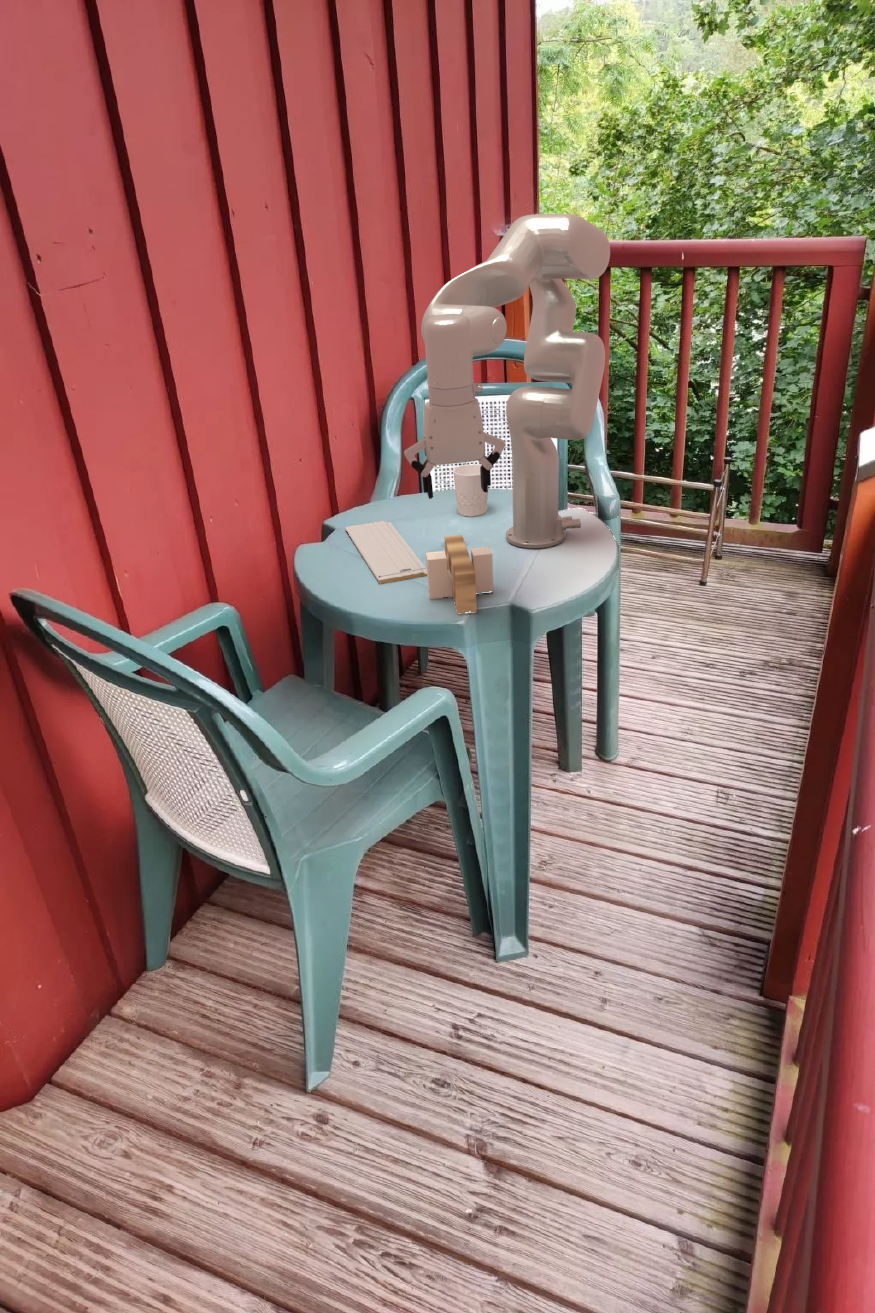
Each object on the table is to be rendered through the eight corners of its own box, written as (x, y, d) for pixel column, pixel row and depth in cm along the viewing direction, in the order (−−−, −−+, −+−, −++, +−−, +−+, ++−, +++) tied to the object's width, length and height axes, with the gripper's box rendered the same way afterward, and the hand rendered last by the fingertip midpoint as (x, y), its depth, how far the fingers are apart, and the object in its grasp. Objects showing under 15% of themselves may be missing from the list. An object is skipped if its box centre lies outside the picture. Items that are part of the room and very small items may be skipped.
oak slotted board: (446, 574, 178) (444, 536, 174) (464, 572, 179) (462, 534, 175) (457, 614, 163) (455, 574, 159) (476, 612, 163) (475, 572, 159)
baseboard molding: (396, 524, 205) (345, 533, 202) (395, 512, 204) (343, 521, 201) (437, 576, 179) (379, 587, 176) (436, 563, 178) (378, 574, 175)
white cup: (459, 519, 204) (457, 476, 199) (452, 508, 211) (450, 466, 206) (493, 515, 205) (492, 472, 200) (484, 503, 212) (483, 462, 207)
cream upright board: (490, 585, 173) (489, 546, 169) (493, 593, 170) (492, 553, 166) (428, 591, 172) (425, 552, 168) (430, 599, 169) (427, 560, 165)
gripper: (498, 383, 153) (502, 480, 161) (397, 394, 151) (406, 490, 160) (507, 395, 146) (510, 495, 155) (401, 405, 145) (410, 506, 154)
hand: (457, 492), depth 157 cm, fingers open, 9 cm apart
